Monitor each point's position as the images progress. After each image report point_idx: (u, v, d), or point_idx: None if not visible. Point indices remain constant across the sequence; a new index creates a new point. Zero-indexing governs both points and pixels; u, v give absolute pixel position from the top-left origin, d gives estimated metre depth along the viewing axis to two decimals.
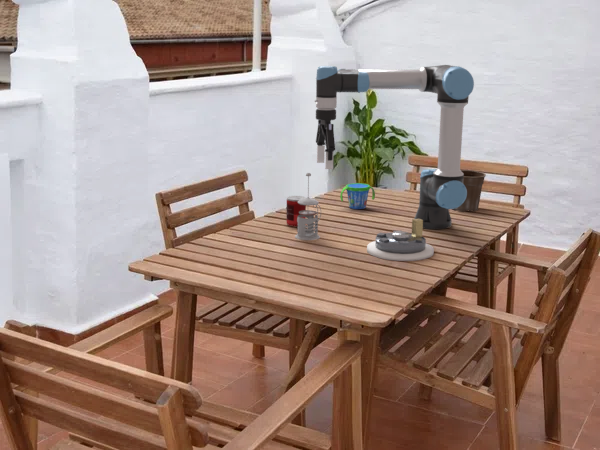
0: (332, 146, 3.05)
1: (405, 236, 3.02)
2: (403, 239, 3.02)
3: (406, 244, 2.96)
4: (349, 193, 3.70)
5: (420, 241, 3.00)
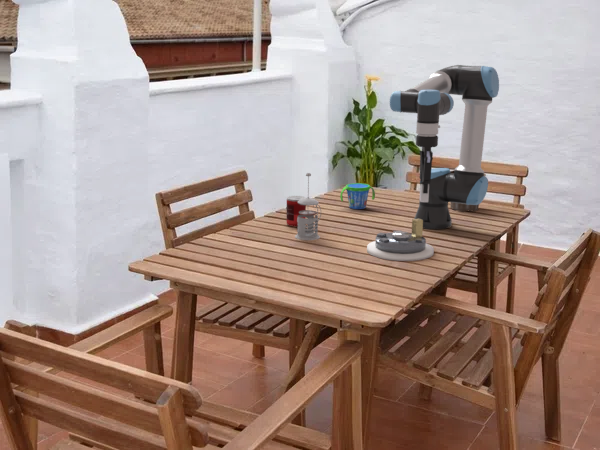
0: None
1: (405, 236, 3.02)
2: (403, 239, 3.02)
3: (406, 244, 2.96)
4: (349, 193, 3.70)
5: (420, 241, 3.00)
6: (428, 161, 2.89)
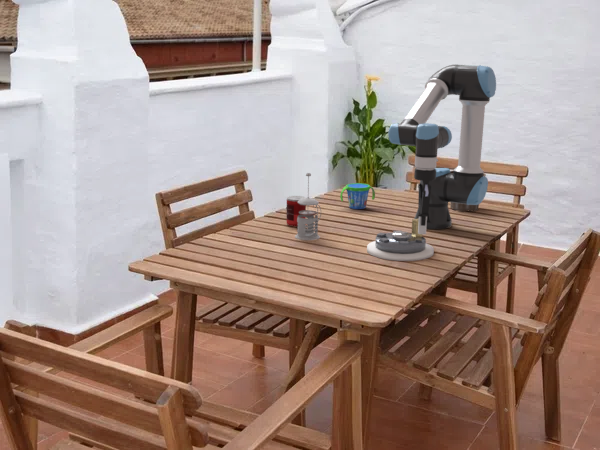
0: None
1: (405, 236, 3.02)
2: (403, 239, 3.02)
3: (406, 244, 2.96)
4: (349, 193, 3.70)
5: (420, 241, 3.00)
6: (426, 195, 2.92)
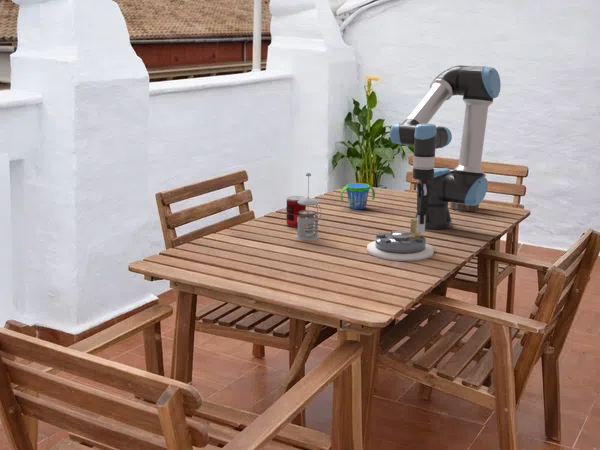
0: None
1: (406, 236, 3.02)
2: (404, 239, 3.02)
3: (408, 244, 2.96)
4: (349, 193, 3.70)
5: (421, 241, 3.00)
6: (425, 194, 2.97)
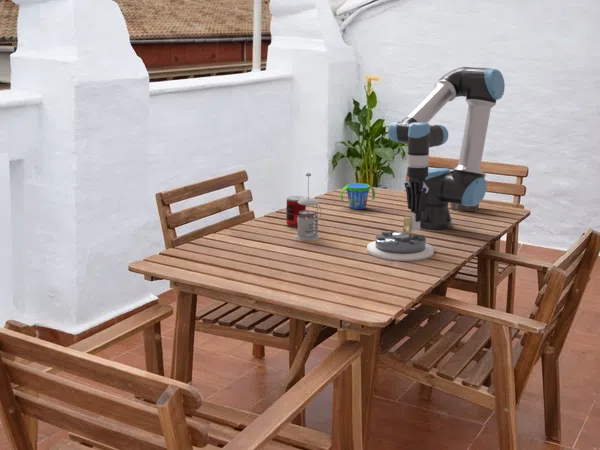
0: None
1: (408, 235, 3.03)
2: (407, 238, 3.03)
3: (418, 243, 2.98)
4: (349, 193, 3.70)
5: (423, 238, 3.04)
6: (426, 192, 3.01)
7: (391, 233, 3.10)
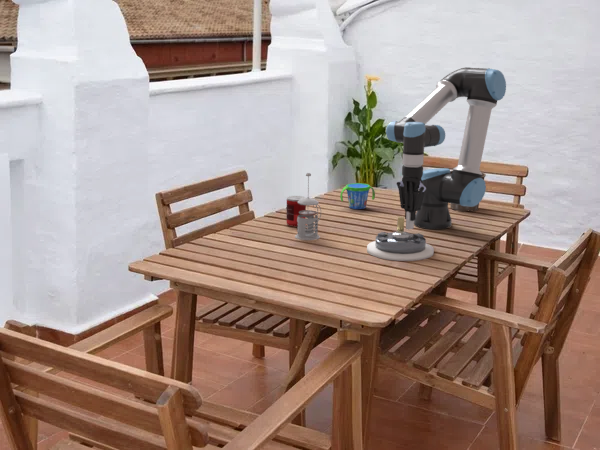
0: None
1: (409, 235, 3.04)
2: (408, 238, 3.03)
3: (423, 241, 3.00)
4: (349, 193, 3.70)
5: (421, 236, 3.07)
6: (423, 191, 3.03)
7: (386, 234, 3.09)
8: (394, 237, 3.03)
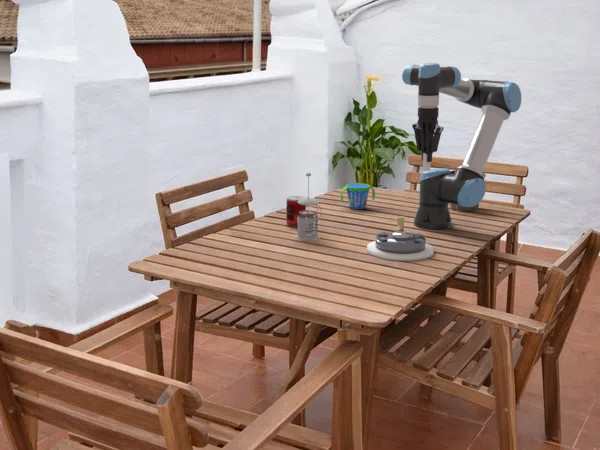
0: None
1: (409, 235, 3.04)
2: (408, 238, 3.03)
3: (423, 241, 3.00)
4: (349, 193, 3.70)
5: (421, 236, 3.07)
6: (439, 131, 3.05)
7: (386, 234, 3.09)
8: (394, 237, 3.03)
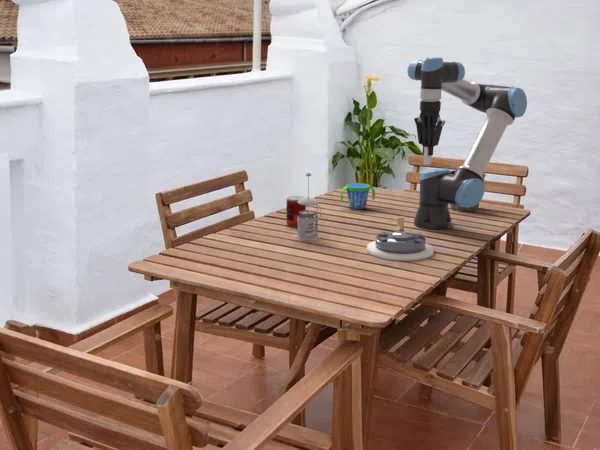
0: None
1: (409, 235, 3.04)
2: (408, 238, 3.03)
3: (423, 241, 3.00)
4: (349, 193, 3.70)
5: (421, 236, 3.07)
6: (441, 125, 3.07)
7: (386, 234, 3.09)
8: (394, 237, 3.03)
